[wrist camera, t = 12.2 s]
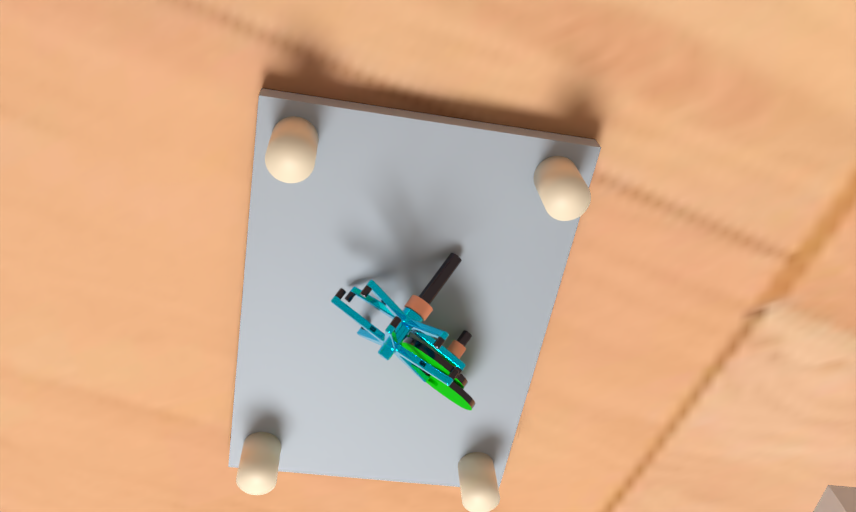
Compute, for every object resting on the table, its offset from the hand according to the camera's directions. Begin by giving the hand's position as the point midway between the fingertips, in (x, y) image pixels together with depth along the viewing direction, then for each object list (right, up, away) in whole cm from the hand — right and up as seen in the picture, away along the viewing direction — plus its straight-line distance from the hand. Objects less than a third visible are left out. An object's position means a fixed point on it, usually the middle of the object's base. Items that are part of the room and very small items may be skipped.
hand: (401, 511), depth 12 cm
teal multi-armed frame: (0, +1, +35) cm, 35 cm away
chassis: (-1, +1, +36) cm, 36 cm away
